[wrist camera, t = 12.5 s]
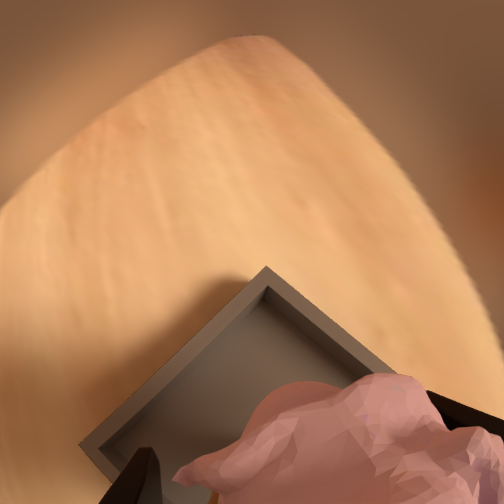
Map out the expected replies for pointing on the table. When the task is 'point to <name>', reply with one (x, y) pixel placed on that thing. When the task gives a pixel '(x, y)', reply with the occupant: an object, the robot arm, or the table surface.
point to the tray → (228, 382)
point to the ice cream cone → (352, 450)
